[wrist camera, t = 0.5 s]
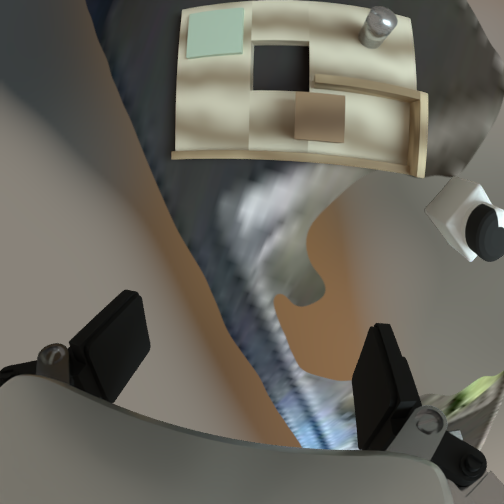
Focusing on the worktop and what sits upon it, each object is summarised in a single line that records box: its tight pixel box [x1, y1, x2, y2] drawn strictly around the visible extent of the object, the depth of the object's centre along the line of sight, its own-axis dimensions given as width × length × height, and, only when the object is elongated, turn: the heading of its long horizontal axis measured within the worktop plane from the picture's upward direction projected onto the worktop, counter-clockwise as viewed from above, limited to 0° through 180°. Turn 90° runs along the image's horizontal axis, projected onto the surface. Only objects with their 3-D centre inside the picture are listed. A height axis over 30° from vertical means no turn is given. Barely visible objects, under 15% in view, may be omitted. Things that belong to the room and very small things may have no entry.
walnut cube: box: [294, 91, 345, 143], centre depth 27 cm, size 5×5×5 cm
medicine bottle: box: [424, 176, 504, 262], centre depth 26 cm, size 7×7×12 cm
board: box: [171, 0, 428, 178], centre depth 27 cm, size 22×30×6 cm
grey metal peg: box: [358, 6, 398, 49], centre depth 21 cm, size 3×3×7 cm
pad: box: [186, 7, 244, 59], centre depth 26 cm, size 7×7×1 cm
